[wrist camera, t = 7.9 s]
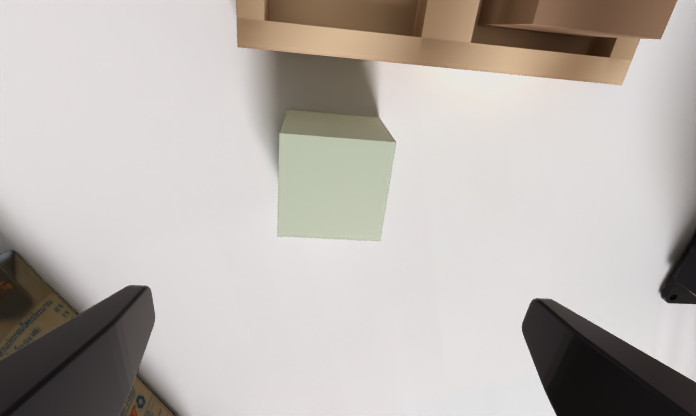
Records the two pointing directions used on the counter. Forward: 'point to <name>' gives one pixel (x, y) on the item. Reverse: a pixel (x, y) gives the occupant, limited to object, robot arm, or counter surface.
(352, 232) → the sage cube
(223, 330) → the counter surface
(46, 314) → the beverage carton
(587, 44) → the box
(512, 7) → the walnut cube
